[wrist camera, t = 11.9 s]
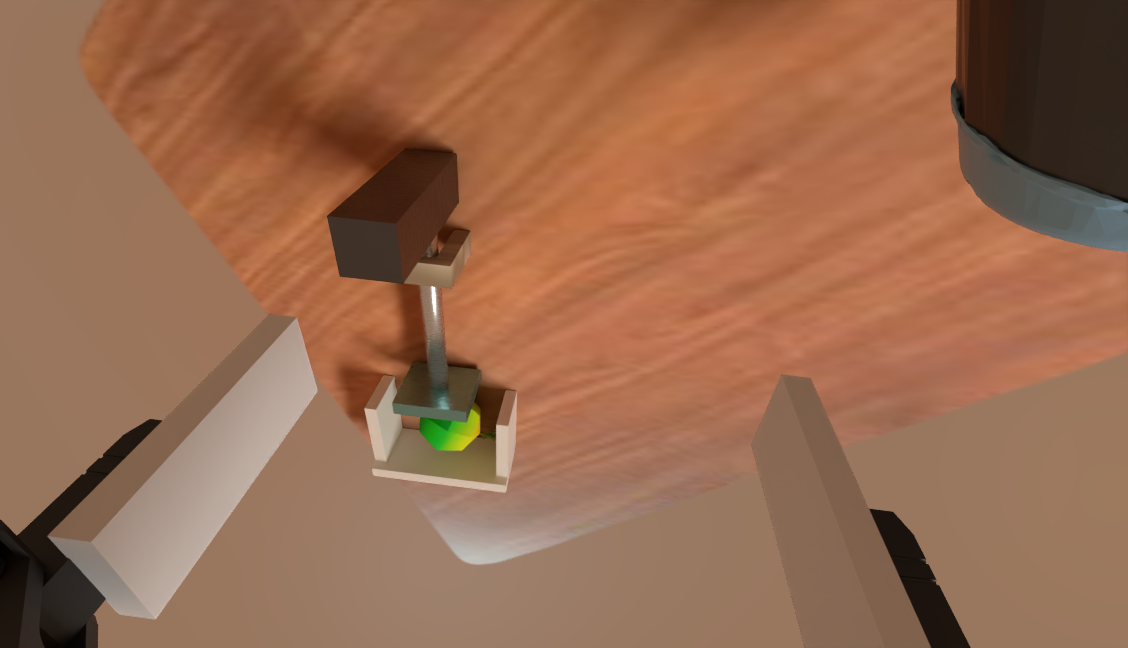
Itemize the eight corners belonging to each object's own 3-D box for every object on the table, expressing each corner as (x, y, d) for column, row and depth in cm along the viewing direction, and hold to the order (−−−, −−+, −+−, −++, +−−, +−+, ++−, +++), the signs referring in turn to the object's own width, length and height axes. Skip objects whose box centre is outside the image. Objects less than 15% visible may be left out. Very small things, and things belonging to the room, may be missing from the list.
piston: (386, 146, 40) (301, 213, 29) (475, 155, 40) (421, 226, 29) (415, 370, 53) (363, 471, 43) (481, 378, 53) (446, 482, 43)
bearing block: (406, 224, 44) (377, 258, 39) (470, 231, 44) (450, 266, 39) (408, 244, 45) (381, 280, 40) (471, 252, 45) (451, 288, 40)
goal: (383, 374, 55) (360, 415, 50) (516, 391, 54) (506, 433, 49) (393, 433, 60) (373, 475, 55) (515, 448, 59) (505, 492, 55)
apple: (404, 442, 49) (490, 476, 51) (432, 382, 50) (515, 417, 52) (410, 430, 56) (485, 460, 58) (435, 377, 57) (508, 408, 59)
